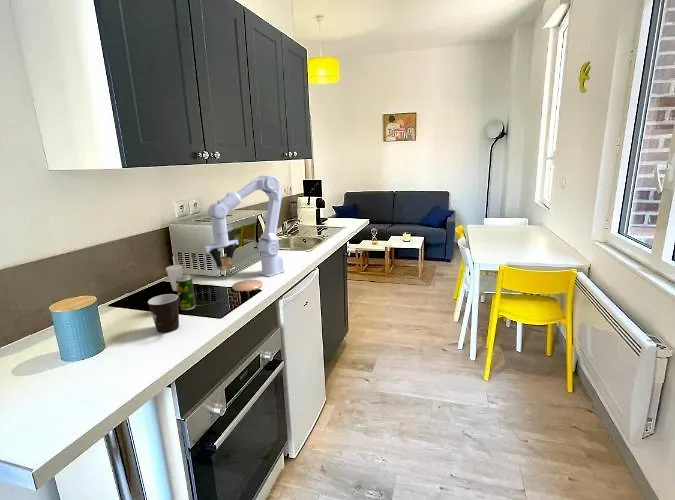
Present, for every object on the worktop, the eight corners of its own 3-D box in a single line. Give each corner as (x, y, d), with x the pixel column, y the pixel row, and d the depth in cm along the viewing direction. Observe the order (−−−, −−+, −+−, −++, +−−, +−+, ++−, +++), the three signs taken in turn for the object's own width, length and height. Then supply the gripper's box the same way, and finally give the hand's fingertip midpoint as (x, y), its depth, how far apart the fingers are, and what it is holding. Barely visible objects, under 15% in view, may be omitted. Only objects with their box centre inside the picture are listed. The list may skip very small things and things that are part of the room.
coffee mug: (153, 325, 118) (148, 297, 115) (182, 320, 121) (178, 292, 118) (151, 341, 107) (146, 310, 105) (183, 335, 111) (178, 304, 108)
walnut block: (226, 266, 155) (225, 256, 154) (232, 268, 152) (231, 257, 151) (216, 268, 152) (215, 258, 151) (222, 270, 149) (221, 260, 148)
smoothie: (188, 286, 153) (184, 254, 150) (181, 292, 147) (175, 259, 143) (174, 286, 154) (169, 254, 150) (166, 292, 148) (160, 259, 144)
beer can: (183, 305, 134) (178, 274, 131) (198, 304, 134) (193, 273, 131) (177, 311, 129) (172, 279, 126) (193, 310, 129) (188, 278, 126)
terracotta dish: (250, 280, 158) (250, 277, 158) (268, 285, 151) (268, 283, 151) (226, 288, 150) (226, 285, 149) (244, 294, 142) (244, 291, 142)
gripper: (230, 228, 156) (233, 259, 159) (198, 235, 145) (203, 267, 149) (239, 230, 151) (243, 261, 155) (208, 237, 141) (212, 270, 144)
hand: (224, 264), depth 152 cm, fingers closed on walnut block, 4 cm apart
